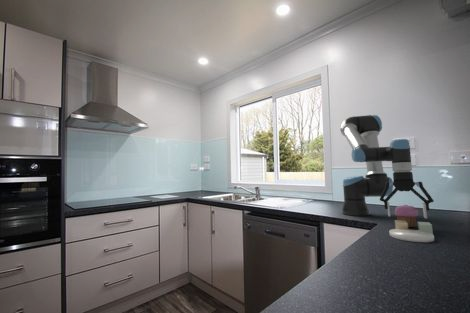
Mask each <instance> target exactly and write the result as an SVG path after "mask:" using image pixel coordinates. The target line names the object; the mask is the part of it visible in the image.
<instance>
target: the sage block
mask: <svg viewBox="0 0 470 313" xmlns="http://www.w3.org/2000/svg"><path fill="white" fill-rule="evenodd" d="M417 230H419V231H424V232H428V233H431V234H433V235H434V232H433V224H431V222H428V221H417Z"/></svg>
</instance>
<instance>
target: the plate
mask: <svg viewBox="0 0 470 313" xmlns="http://www.w3.org/2000/svg"><path fill="white" fill-rule="evenodd" d="M388 233H389V235H388V236H390V237H391V238H394V239H395V240H396V239H397V240H401V241H404V242H405V241H406V242H413V243H431V242H434V241H435V235H434V233H433V234H431V233H428V232H424V231H419V230H418V229H411V228H408V229H396V228H392V229H389V231H388Z"/></svg>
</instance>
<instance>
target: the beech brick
mask: <svg viewBox="0 0 470 313" xmlns="http://www.w3.org/2000/svg"><path fill="white" fill-rule="evenodd" d="M394 226H395V227H394V229H409V227H408V223H407V222H406V221H400V220H398V219H395V220H394Z"/></svg>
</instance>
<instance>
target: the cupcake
mask: <svg viewBox="0 0 470 313" xmlns="http://www.w3.org/2000/svg"><path fill="white" fill-rule="evenodd" d="M394 215H395V216H396V220H400V221H406V222H407V223H408V228H414V227H416V225H417V217H418V216H419V210H417V209H416V208H415V207H414V206H412V205H407V204H403V205H398V206H396V207H395V210H394Z"/></svg>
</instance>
